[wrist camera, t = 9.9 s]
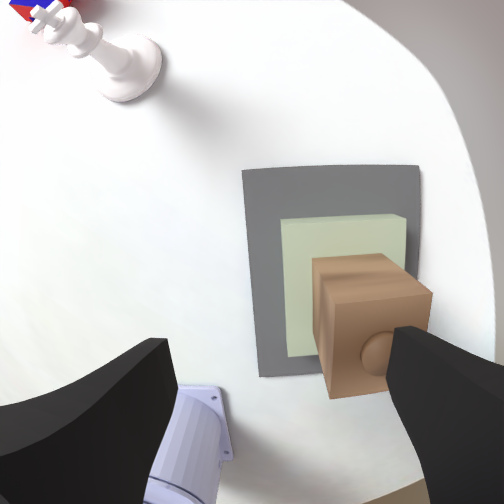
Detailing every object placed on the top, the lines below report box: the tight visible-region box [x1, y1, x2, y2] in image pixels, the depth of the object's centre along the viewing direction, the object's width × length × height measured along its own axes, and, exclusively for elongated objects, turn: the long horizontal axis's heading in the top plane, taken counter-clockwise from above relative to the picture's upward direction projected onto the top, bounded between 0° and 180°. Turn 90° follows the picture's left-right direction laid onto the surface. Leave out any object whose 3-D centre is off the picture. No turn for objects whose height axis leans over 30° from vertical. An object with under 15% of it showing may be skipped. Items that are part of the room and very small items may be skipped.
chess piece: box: [28, 0, 162, 102], centre depth 11 cm, size 5×5×10 cm
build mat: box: [242, 165, 420, 377], centre depth 19 cm, size 14×11×1 cm
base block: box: [280, 214, 406, 357], centre depth 18 cm, size 8×7×2 cm
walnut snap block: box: [312, 253, 433, 399], centre depth 13 cm, size 4×4×6 cm
